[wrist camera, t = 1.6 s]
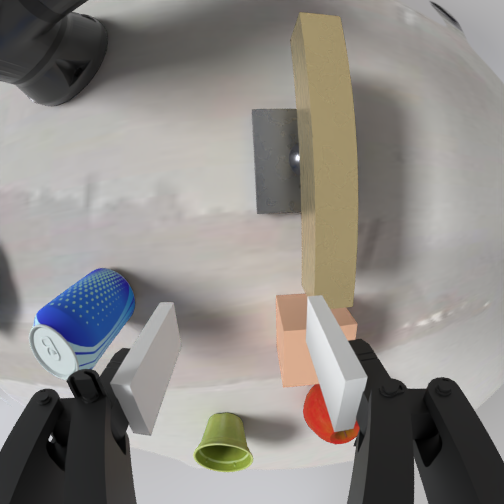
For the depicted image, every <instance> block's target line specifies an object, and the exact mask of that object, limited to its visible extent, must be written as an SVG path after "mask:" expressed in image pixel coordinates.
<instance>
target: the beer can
mask: <svg viewBox="0 0 504 504" xmlns="http://www.w3.org/2000/svg"><path fill="white" fill-rule="evenodd" d="M134 308H135V298H134V294H133V291H132V289H131V287H130V285H129V283H128V282H127V280H126V279H125V278H124V277H123V276H121V275H120V274H119V273H117V272H115V271H113V270H111V269H106V268H100V269H96V270H94V271H92V272H91V273H89V274H88V275H86V276H85V277H84V278H82V279H81V280H79V281H78V282H77V283H75V284H74V285H72V286H71V287H70V288H68V289H67V290H65V291H64V292H63V293H61V294H60V295H59V296H57V297H56V298H55V299H53V300H52V301H51V302H49V303H48V304H47V305H45V306H44V307H43V308H42V309H40V310H39V311H38V313H37V314H36V316H35V319H34V324H33V327H32V329H31V330H30V333H29V343H30V347H31V349H32V352H33V354H34V355H35V357H36V359H37V360H38V362H39V363H40V364H41V365H42V366H43V367H44V368H45V369H46V370H47V371H48V372H49V373H51V374H52V375H54V376H55V377H57V378H60V379H63V380H67V379H68V377H69V376H70V375H71V374H72V373H74V372H76V371H78V370H81V369H93V367H94V366H95V365H96V363H97V362H98V360H99V359H100V358H101V356H102V355H103V353H104V352H105V351H106V349H107V348H108V346H109V345H110V344H111V342H112V341H113V340H114V338H115V337H116V336H117V334H118V333H119V332H120V330H121V329H122V328H123V326H124V325H125V324H126V322H127V321H128V320H129V318H130V317H131V316H132V314H133V312H134Z"/></svg>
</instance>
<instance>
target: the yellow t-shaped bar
mask: <svg viewBox="0 0 504 504" xmlns="http://www.w3.org/2000/svg"><path fill="white" fill-rule="evenodd" d="M290 42H291V51H292V61H293V71H294V82H295V94H296V107H297V122H298V138H299V158H300V182H301V220H302V287H303V289H304V291H305V293H306V295H307V297H308V296H319V295H322V296H323V298H324V300H325V301H326V303H327V305H328V307H329V308H330V309H337V308H346V307H353V299H354V288H355V275H356V259H357V237H358V163H357V142H356V127H355V114H354V104H353V94H352V86H351V78H350V70H349V63H348V57H347V50H346V44H345V39H344V33H343V28H342V23H341V18H340V17H339V16H332V15H324V14H314V13H302V12H300V13H299V16H298V19H297V22H296V25H295V28H294V31H293V34H292V37H291V40H290Z"/></svg>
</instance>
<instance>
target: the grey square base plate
mask: <svg viewBox="0 0 504 504" xmlns="http://www.w3.org/2000/svg"><path fill="white" fill-rule="evenodd" d="M252 125H253V144H254V163H255V183H256V204H257V214H264V213H288V212H301V182H300V158H299V138H298V122H297V109H254V110H252Z"/></svg>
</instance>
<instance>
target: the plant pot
mask: <svg viewBox="0 0 504 504" xmlns="http://www.w3.org/2000/svg"><path fill="white" fill-rule="evenodd" d="M193 457H194V459H195V461H196V462H197V463H198V464H200V465H201V466H203V467H205V468H207V469H210V470H214V471H220V472H235V471H239V470H243V469H245V468H247V467H249V466H250V465H251V464H252V462H253V456H252V454H251V452H250V451H249V448H248V447H247V442H246V438H245V433H244V427H243V422H242V420H241V419H240V418H239V417H238V416H236V415H234V414H231V413H223V414H214V415H213V416H211V417H210V419H209V421H208V424H207V427H206V430H205V433H204V435H203V438H202V441H201V443H200V444H199V446H198V447H197V448H196V449H195V451H194V454H193Z"/></svg>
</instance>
